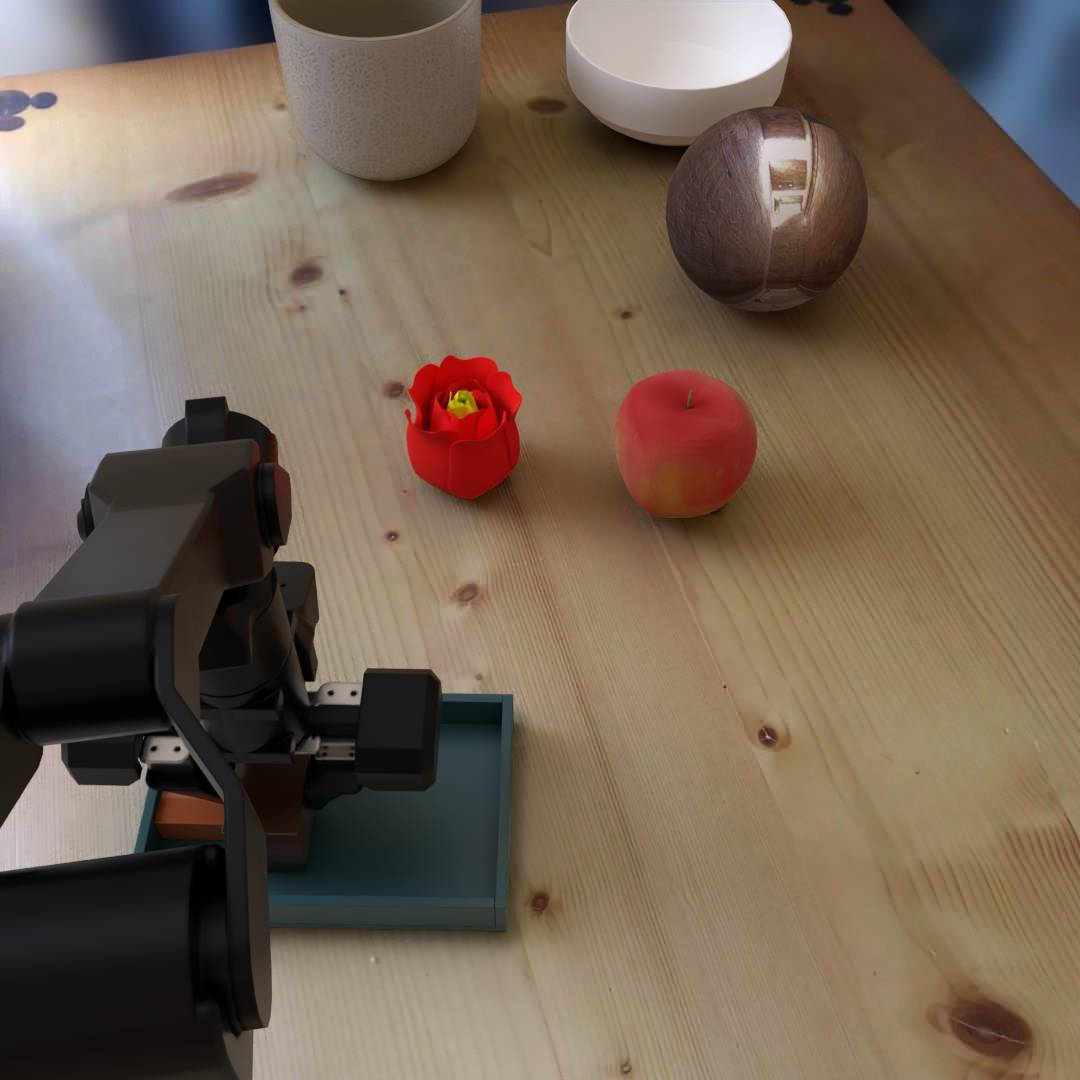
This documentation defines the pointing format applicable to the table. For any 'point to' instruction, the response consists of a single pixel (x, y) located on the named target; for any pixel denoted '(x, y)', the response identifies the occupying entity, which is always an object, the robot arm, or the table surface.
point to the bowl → (675, 63)
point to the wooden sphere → (766, 209)
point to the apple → (684, 443)
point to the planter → (381, 80)
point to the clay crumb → (189, 818)
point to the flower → (463, 425)
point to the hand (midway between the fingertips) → (282, 801)
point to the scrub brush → (281, 810)
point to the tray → (406, 839)
